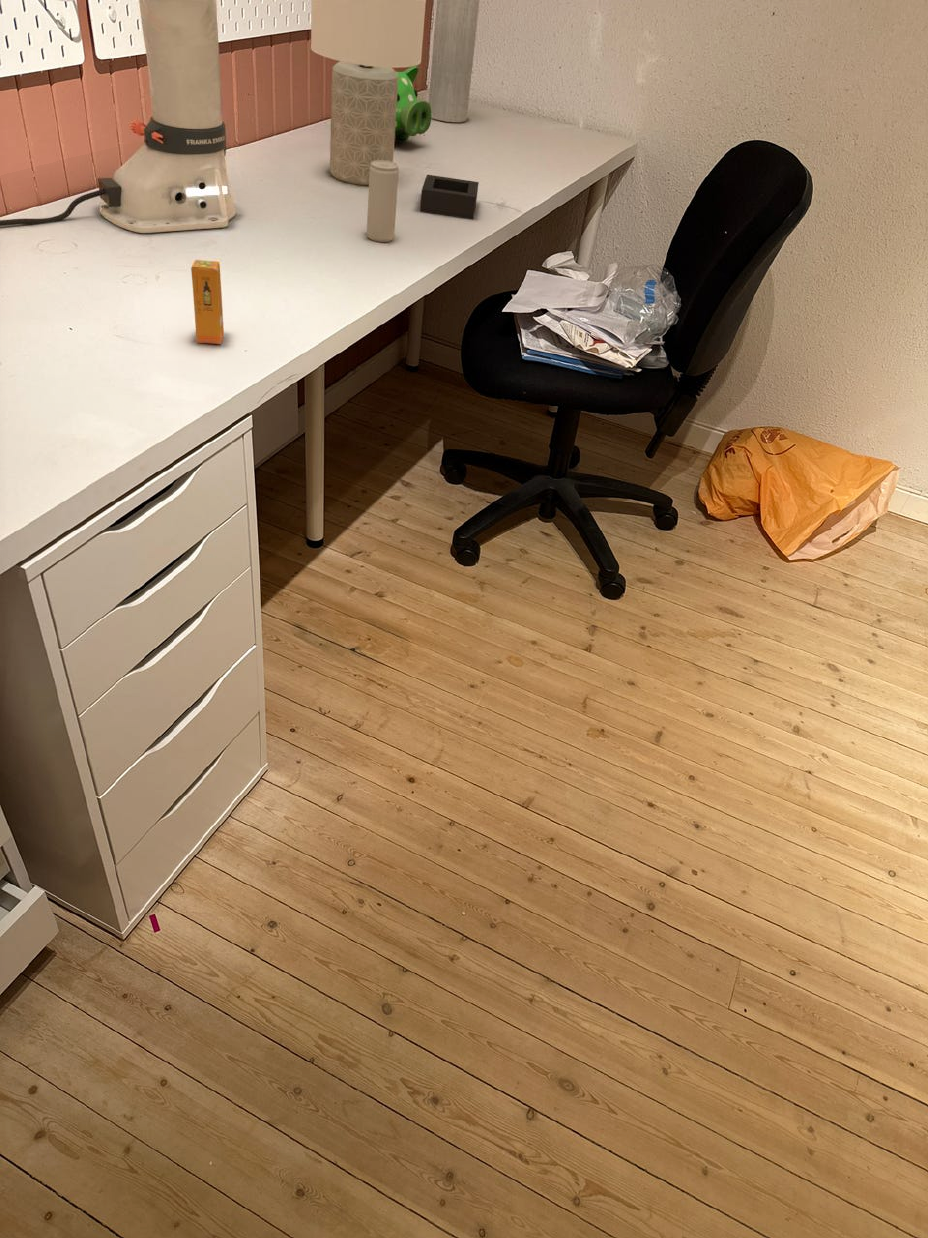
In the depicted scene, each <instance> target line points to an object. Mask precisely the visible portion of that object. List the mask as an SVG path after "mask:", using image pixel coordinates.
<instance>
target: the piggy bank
mask: <svg viewBox="0 0 928 1238" xmlns="http://www.w3.org/2000/svg"><path fill="white" fill-rule="evenodd" d="M419 70H420V69H419V66H417V65H416V66H412V67H407V69H405V70H404V71H395V72H396V73H397V74H398V75H399V79H398V94H397V109H396V124H395V140H394V143H395V142H399V143H406V142H407V140H408V139H409V137H415V136H417V135H423V134H425V133H426V132H427V131H429V129H430V127H431V123H432V118H431V106H430V104H429V103H428V102H429V101H427V100H425V99H418V95H419V94H418V91H417V90H416V89H414V85H413V84H414V82H415V79H416V78H417V76H418V74H419Z"/></svg>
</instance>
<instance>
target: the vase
mask: <svg viewBox="0 0 928 1238" xmlns="http://www.w3.org/2000/svg"><path fill="white" fill-rule="evenodd" d="M435 9H436V10H435V21H434V31H433V32H434V34H433V44H432V45H433V46H432V55H431V56H432V57H431V68H430V79H429V90H428V91H429V92H428V101H427V102H428V103H429V104H430V106H431V120H432V119H433V120H435V121H439V122H444V123H453V124H458V123H464V122H466V121H467V117H468V110H469V109H468V108H469V100H470V91H471V81H472V72H473V65H474V55H475V48H476V47H475V46H476V37H477V27H478V18H479V11H480V10H479V9H480V0H436V8H435Z"/></svg>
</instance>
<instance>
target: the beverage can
mask: <svg viewBox="0 0 928 1238" xmlns="http://www.w3.org/2000/svg"><path fill="white" fill-rule="evenodd" d="M399 175H400V169H399V165H398V164H397V163H396V162H394V161H393V162H390V161H384V160H376V161H372V162H371V166H370V174H369V185H368V195H367V196H368V197H367V217H366V236H367V238H368V239H369V240H372V241H374V242H378V243H388V242H390V241H391V242H392V240H393V239H394V238H395V231H396V217H397V216H396V215H397V203H398V201H397V200H398V188H399Z"/></svg>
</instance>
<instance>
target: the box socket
mask: <svg viewBox="0 0 928 1238" xmlns="http://www.w3.org/2000/svg"><path fill="white" fill-rule="evenodd" d="M478 190H479V181H473V180H466V179H460V178H453V177H447V176H441V175H433V174H426V177H425V179H424V182H423V185H422V188H421V195H420V208H419V212H422V213H429V214H434V215H435V214H436V215H442V216H450V217H457V218H462V219H470V220H474V217H475V212H476V205H477V200H478Z"/></svg>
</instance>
